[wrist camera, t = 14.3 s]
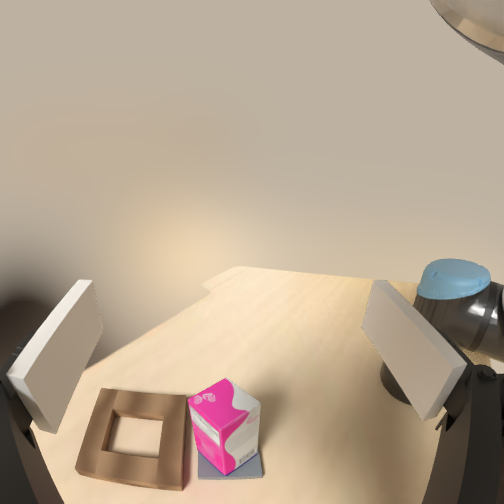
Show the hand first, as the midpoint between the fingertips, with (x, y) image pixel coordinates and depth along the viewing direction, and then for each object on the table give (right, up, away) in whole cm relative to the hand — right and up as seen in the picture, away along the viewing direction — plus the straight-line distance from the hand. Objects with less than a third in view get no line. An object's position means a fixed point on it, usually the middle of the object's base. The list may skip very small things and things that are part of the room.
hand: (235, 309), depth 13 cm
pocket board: (-15, -24, +20) cm, 35 cm away
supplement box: (-3, -24, +19) cm, 31 cm away
